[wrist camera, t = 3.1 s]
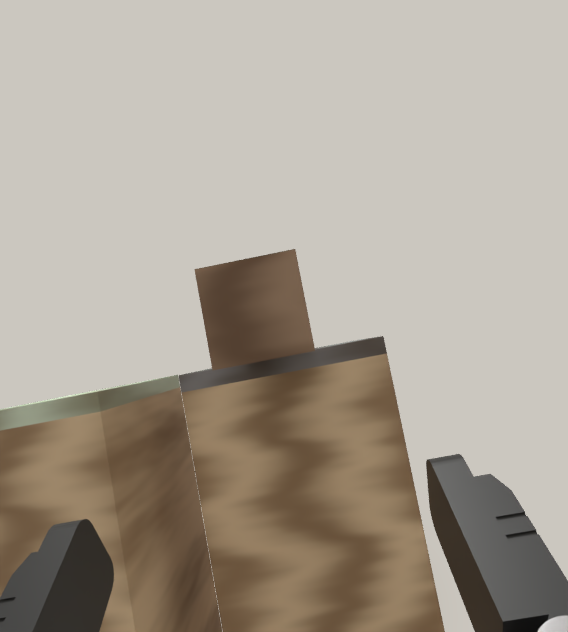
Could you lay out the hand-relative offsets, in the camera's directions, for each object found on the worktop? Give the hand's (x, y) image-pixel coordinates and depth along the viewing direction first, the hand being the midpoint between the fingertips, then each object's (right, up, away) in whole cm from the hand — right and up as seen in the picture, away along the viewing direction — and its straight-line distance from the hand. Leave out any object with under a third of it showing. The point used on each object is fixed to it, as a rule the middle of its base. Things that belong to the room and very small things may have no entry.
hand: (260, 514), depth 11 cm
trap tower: (+7, -29, +20) cm, 36 cm away
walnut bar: (0, +2, +19) cm, 19 cm away
